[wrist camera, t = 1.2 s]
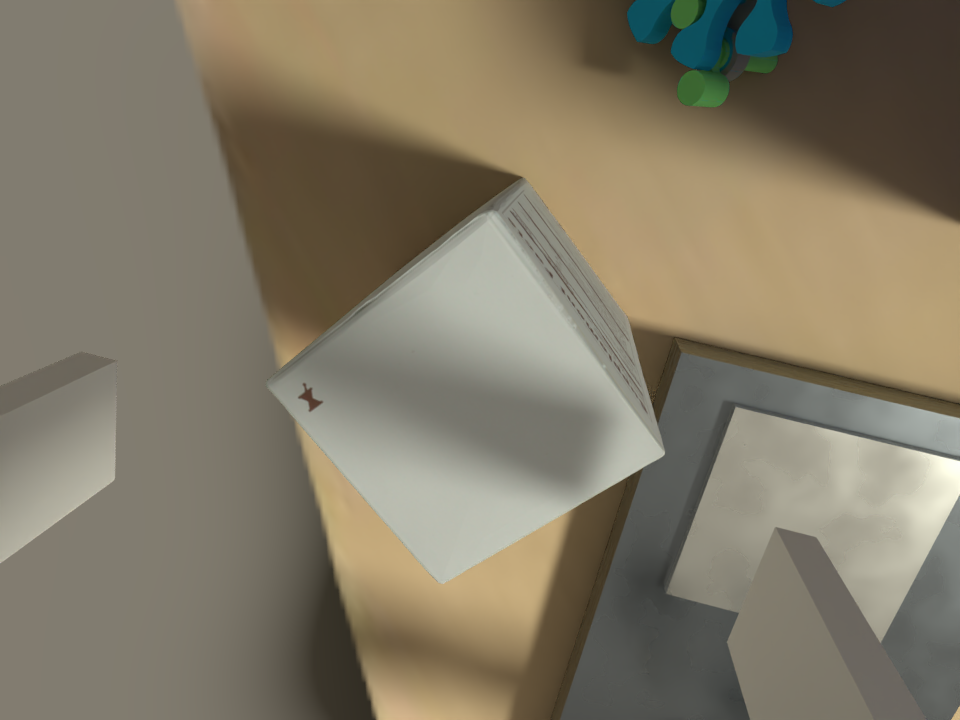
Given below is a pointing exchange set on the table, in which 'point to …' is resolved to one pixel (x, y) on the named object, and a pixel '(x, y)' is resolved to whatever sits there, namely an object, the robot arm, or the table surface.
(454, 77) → the table surface
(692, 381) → the plate
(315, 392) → the supplement box
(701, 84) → the gear
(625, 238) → the table surface
